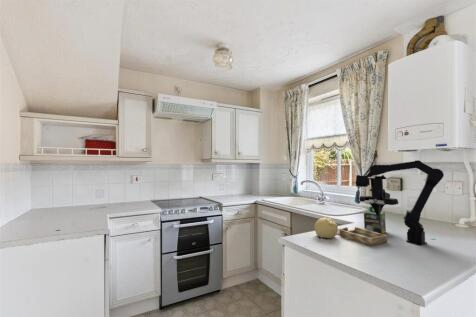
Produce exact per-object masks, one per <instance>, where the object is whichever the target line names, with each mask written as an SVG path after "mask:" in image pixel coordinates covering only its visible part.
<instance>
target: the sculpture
mask: <svg viewBox="0 0 476 317" xmlns="http://www.w3.org/2000/svg"><path fill="white" fill-rule="evenodd" d="M337 229H339V228H338V224H337V223H336V222H335V220H334V219H333V218H331V217H327V216H323V217H322V218H319V219H317V220H316V222H315V224H314V232H315V233H316V234H315V235H316V236H318V237H319V238H324V239H333V238H334V237H336V236H337V235H336V234H337Z"/></svg>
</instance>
